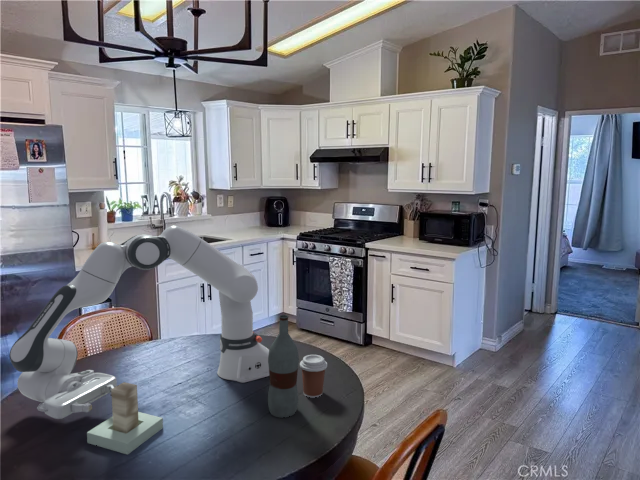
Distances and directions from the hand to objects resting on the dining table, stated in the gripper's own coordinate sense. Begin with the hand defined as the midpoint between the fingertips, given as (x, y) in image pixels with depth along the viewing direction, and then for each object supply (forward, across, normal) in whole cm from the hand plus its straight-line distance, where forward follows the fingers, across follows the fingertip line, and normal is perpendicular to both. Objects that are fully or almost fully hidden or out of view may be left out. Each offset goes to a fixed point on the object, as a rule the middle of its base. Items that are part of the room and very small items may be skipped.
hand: (104, 400), depth 127 cm
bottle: (+41, +28, +9) cm, 51 cm away
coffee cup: (+46, +42, +9) cm, 63 cm away
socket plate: (+7, 0, +9) cm, 11 cm away
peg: (+7, 0, +9) cm, 11 cm away
